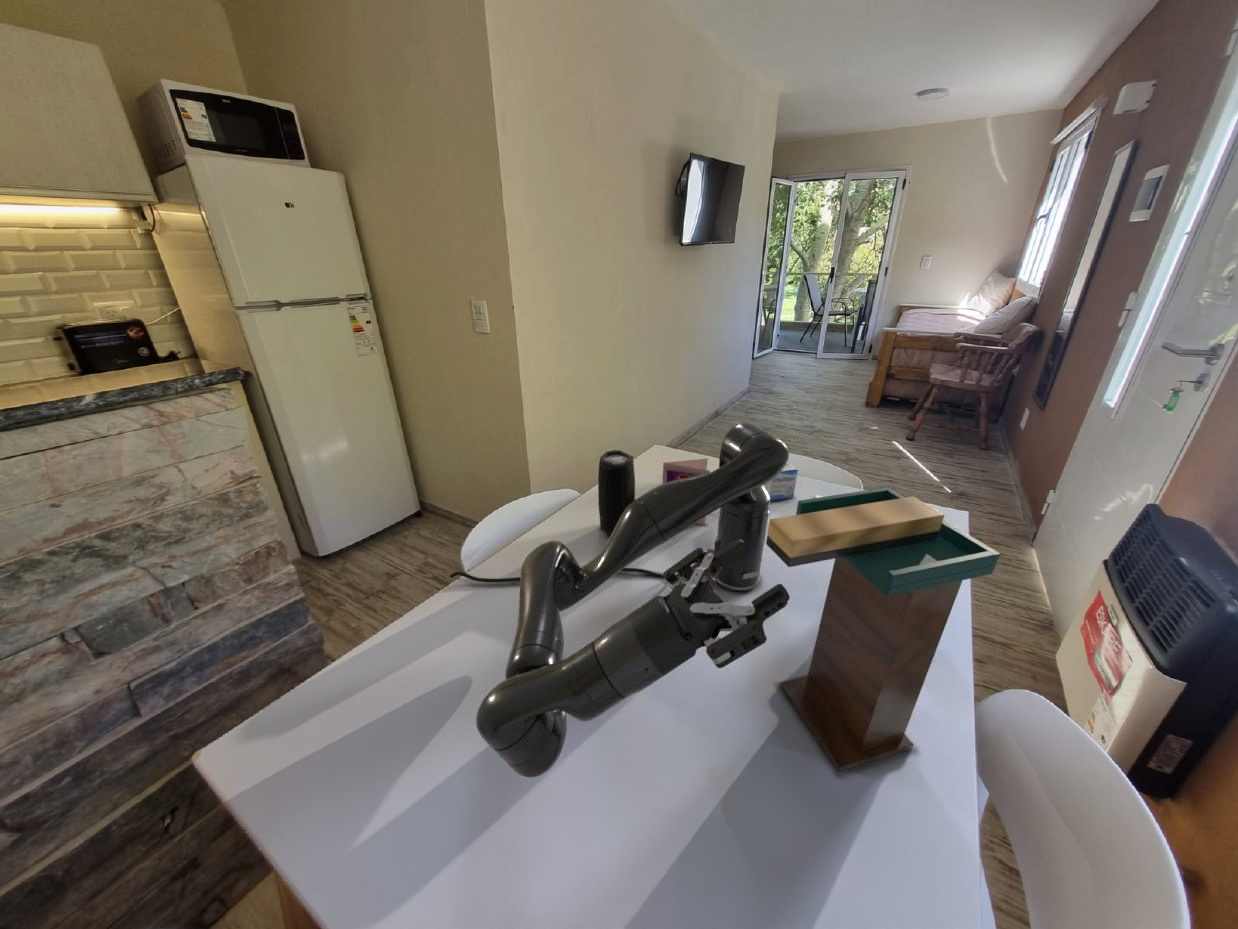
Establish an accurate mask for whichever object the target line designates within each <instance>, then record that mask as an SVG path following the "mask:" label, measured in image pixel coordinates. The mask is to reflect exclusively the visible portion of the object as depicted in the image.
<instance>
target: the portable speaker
mask: <svg viewBox="0 0 1238 929" xmlns="http://www.w3.org/2000/svg"><path fill="white" fill-rule="evenodd" d="M598 461H599V462H598V475H597V483H598V484H597V485H598V486H597V487H598V488H597V489H598V490H597V491H598V495H597V496H598V499H597V500H598V514H599V515H598V516H599V525H600V529H601V530H602V531H603V532H604V533H605V534H606V535H607V537H609V538H610V537H611V535H612V533H613V531H614V529H615V527H616V525H617V523H618V521H619V519H620V517H621V515H622V513H623V512H624V510H625V509H626V507H627V506H628V505H629V504H630V503H631V502H633V501H634V500H636V475H635V463H634V462H635V461H634V456H633V455H631V454H628V453H626V452H625V451H623V450H620V449H613V450H609V451H605V453H603V454H602V455H601V456H600V457H599V460H598Z"/></svg>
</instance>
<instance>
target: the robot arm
mask: <svg viewBox="0 0 1238 929" xmlns="http://www.w3.org/2000/svg"><path fill="white" fill-rule="evenodd" d="M789 457H790V454H789V449H788V446H787V445H786V443H784V441H782V439H780V438H778V437H777V436H776V435H774V434H772V433H770V432H769V431H767V430H765V429H764V428H761V427H760V426H758V425H756V424H753V423H751V422H741V423H738V424H736V425H734V426H732V427H731V428H730V429H729V430H728V431H727V433H726V434H725V436H724V438H723V439H722V442H721V446H720V451H719V461H718V463H719V464H718V468H716V469H715V470H712V471H710V473H707V474H704V475H701V476H696V477H691V478H685V479H680V480H675V481H671V482H667V483H664V484H663V483H661V484H659V485H657V486H655V487H653V488H651V489H650V490H648V491H647V492H644V494H642V495H641V496H639V497H637V498H635V500H634V501H633V502H631V503H630V504H629V505H628V506H627V507H626V509H625V510H624V512H623V513H622V515H621V517H620V519H619V521H618V523H617V525H616V527H615V529H614V531H613V533H612V535H611V537H609V539H608V540H607V542H606V544H605V545H604V546H603V547H602V549H601V551H599V553H598V554H596V555H595V556H594V557H593V558H592V559H591V560H590V561H588V562H587V563H586V564H584V565H583V566H581V565H580V564H579V563H578V561H577V559H576V558H575V557H574V555H573V553H572V552H571V550H570V548H568V546H567V545H565V544H564V543H563V542H561V541H559V540H549V541H547V542H544V543H542V544H540V545H538V546H536V547H535V548H534V549H533V550H532V551H530V553H528V555H526V557H525V559H524V560H523V563H522V564H521V568H520V573H519V574H520V576H519V577H518V576H517V577H502V578H501V577H500V578H486V577H477V576H474V575H471V574H469V573H466V572H464V571H454V572H453V573H451V574H450V575H449V576H448V577H449V578H450V579H451V578H454V577H457V576H461V577H464V578H466V579H468V580H471V581H474V582H478V583H510V582H519V597H518V601H519V602H518V615H517V624H516V630H515V634H514V637H513V641H512V644H511V649H510V652H509V656H508V660H507V663H506V668H505V675H504V676H505V677H504V678H505V680H503V681H501V682H499V683H498V684H497V685H495V686H494V687H493V688H492V689H491V690H490V691H489V692H488V693H487V694H486V695H485V697H484V698H483V699H482V701H481V702H480V704H479V706H478V709H477V712H476V717H475V725H476V729H477V732H478V734H479V735H480V737H481V738H482V739H483V741H484V742H486V744H487V745H489V747H490V748H492V750H493V751H495V753H496V754H497V755H498V756H499V757H500V758H501V759H502V760H503V761H504V762H505V763H506V765H508V766H509V768H511V769H512V771H514V772H515V773H517V775H520V776H521V777H524V778H529V779H531V778H537V777H540V776H542V775H544V774H545V773H547V772H548V771H549V770H550V769H551V768H553V766H554V765H555V764H556V763H557V760H558V759H559V758H560V756H561V753H562V751H563V749H564V746H565V743H566V739H567V738H566V737H567V731H568V730H567V729H568V728H567V727H568V726H567V725H568V721H567V720H568V719H567V714H568V715H569V716H571V717H573V718H575V719H577V720H578V721H580V722H589V721H592V720H595V719H596V718H598V717H599V716H601V715H603V714H605V713H606V712H608V711H610V710H611V709H612V708H614V707H615V706H616V705H618V704H620V703H621V702H622V701H624V700H625V699H627V698H629V697H631V696H632V695H634V694H636V693H638V692H641V691H643V690H645V689H647V688H648V687H649V686H651V685H652V684H654V683H656V682H657V681H659V680H660V679H661V678H664V677H665V676H667V675H668V674H669V673H671V672H672V671H673V670H675V669H677V668H678V667H680V666H682V665H683V664H685V663H686V662H687V661H689V660H691V659H692V658H694V656H696V655H697V654H696V653H697V651H698V650H699V649H700V648H704V647H706V649H705V653H706V654H707V656H708V657H709V659H710V660H711V662H712V663H713V664H714V666H715V667H716V668H718V669H723V668H725V667H726V666H728V665H730V664H731V663H733V662H735V661H736V660H738V659H739V658H742V657H744V656H745V655H747V654H749V653H751V652H752V651H754V650H755V649H757V648H758V647H760V646H762V645H764V644H765V643H766V642H767V640H768V639H767V636H766V634H765V630H764V622H765V621H766V620H768V619H769V618H771V617H772V616H774V615H775V614H776V613H778V612H780V611H781V610H783V609H784V608H786V606H787V605H788V603H789V602H788V601H789V600H790V598H791V597H790V594H789V592H788V590H787V588H786V587H785V586H784V585H783V584H782V583H778V584H776V585H774V586H773V587H771V588H770V589H768V590H767V591H765V592H764V593H762V594H761V595H759V596H758V597H756V598H755V599H753V600H752V601H751V604H742V605H741V604H739V605H737V604H736V605H735V604H732V603H731V602H724V601H723V599H722V598H721V596H720V595H719V594H718V593H717V592H716V587H717V584H718V586H721V587H722V588H724V589H726V590H729V591H734V592H748V591H752V590H753V589H755V588H756V587H757V586H758V585H759V582H760V573H761V572H760V571H761V567H762V560H763V554H764V546H765V539H766V532H767V527H768V520H769V515H770V508H771V501H770V495H769V493H768V491H767V489H766V487H765V486H764V485H765V484H766V483H768V482H770V481H771V480H773V479H774V478H775V477H776V476H778V475H779V474H780V473H781V472H782V470H783V469H784V467H785V466H786V464H788V461H789ZM717 510H719V516H718V527H717V534H716V538H715V540H714V547H713V549H712V548H707V549H706V551H705V550H704V549H703V548H702V547H696V548H695V549H694V550H692V551H691V552H690V553H688V554H687V555H686V556H684V557H682V558H681V559H680V560H678V561H677V562H676V563H675V564H673V565H671V566H670V567H669V568H667V569H666V570H665V571H663V573H659V572H654V571H651V570H647V569H644V568H637V567H636V568H635V567H628V566H629V565H631V564H632V563H634V562H635V561H638V559H640V558H642V557H643V556H645V555H647V554H648V553H649V552H651V551H653V550H654V549H656V548H658V547H660V546H662V545H663V544H665V543H667V542H668V541H670V540H671V539H673V538H674V537H676V536H677V535H679V534H680V533H682V532H684V531H685V530H686V529H688V528H690V527H691V526H692V525H694V524H696V523H695V522H697V521H699V520H700V519H702V518H704V517H705V516H706V517H707V516H709V515H710V514H712V513H713V512H716V511H717ZM619 572H629V573H630V572H632V573H640V574H646V575H649V576H653V577H657V578H662V579H664V581H665V582H666V584H667V585H668V587H670V589H671V591H670V592H669V593H668V594H667V595H665V596H662V595H656V596H654V597H653V598H651V599H650V600H648V601H647V602H645V603H644V604H642V605H641V606H639V607H637V609H634V610H633V611H632V612H630V613H629V614H627V615H626V616H624V617H623V618H621V619H620V620H618V621H617V622H615V623H614V624H612V625H611V626H609V627H608V628H607V629H606V630H604V631H603V632H602V633H601V634H600V635H599V636H597V638H595V639H594V640H592V641H591V642H589V643H587V644H586V645H585V646H583V647H582V648H580V649H579V650H577V651H576V652H574V653H573V654H571V655H570V656H568V657H567V658H565V659H563V657H564V649H565V637H564V636H565V635H564V628H563V622H562V618H561V614H560V613H562V612H564V611H566V610H568V609H570V608H572V607H574V606H575V605H576V604H578V603H579V602H581V601H583V599H585V598H586V597H588V596H589V595H590V594H592V593H593V592H594V591H596V590H597V589H598V588H599V587H601V586H602V585H603V584H604V583H606V582H607V581H609V580H610V579H611V578H613V577H614V576H615V575H616V574H618V573H619ZM720 632H729V633H728V634H726V635H724V636H723V637H721V636H720V637H719V635H720Z"/></svg>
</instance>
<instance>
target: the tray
mask: <svg viewBox="0 0 1238 929" xmlns="http://www.w3.org/2000/svg"><path fill="white" fill-rule="evenodd" d="M900 498H906V496H903V495H902V494H900V493H898V492H897V491H895V490H893V489H891V488H890V487H888V486H886V487H880V488H872V489H866V490H859V491H854V492H853V491H852V492H846V493H840V494H833V495H828V496H822V497H819V498H814V497H813V498H807V499H801V500H800V499H799V500H798V502H797V508H796V514H795V515H800V514H806V513H812V512H818V511H825V510H831V509H837V508H843V507H850V506H856V505H862V504H868V503H875V502H881V501H887V500H893V499H900ZM1000 556H1001V553H1000V552H998V551H996V549H993V548H992V547H990V546H988V545H987V544H985V543H983V542H982V541H979V540H978V539H976V538H975V537H973V536H971V535H970V534H968V533H966V532H965V531H963V530H961V529H959V528H958V527H956V526H954V525H953V524H951V523H949V522H948V521H946V520H944V519H943V522H942V525H941V528H940V530H939V534H938V537H937V539H935V540H930V541H925V542H919V543H914V544H909V545H903V546H898V547H893V548H888V549H882V550H877V551H872V552H867V553H861V554H856V555H851V556H845V557H841V558H843V559H844V560H845V561H846V562H847V563H848V564H850V565H851V566H852V567H853V568H854V569H855V570H857V571H858V572H859V573H860V574H861V575H862V576H864V577H865V578H866V579H867V580H868V581H869V582H871V583H872V584H873V585H874V586H875V587H877V588H878V589H879V590H880V591H881V592H882V593H884V594H885V595H886V596H887V597H888V596H893V595H898V594H902V593H907V592H911V591H916V590H920V589H925V588H929V587H934V586H939V585H943V584H948V583H952V582H957V581H961V580H963V581H965V580H969V579H975V578H979V577H980V578H981V577H984V576H989V575H993V573H994V570H995V568H996V565H997V563H998V561H999V558H1000Z"/></svg>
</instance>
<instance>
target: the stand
mask: <svg viewBox="0 0 1238 929" xmlns="http://www.w3.org/2000/svg"><path fill="white" fill-rule="evenodd" d="M963 581H964V580H961V581H957V582H952V583H948V584H943V585H939V586H934V587H929V588H925V589H920V590H916V591H911V592H907V593H902V594H898V595H893V596H888V597H887V596H886V595H885V594H884V593H882V592H881V591H880V590H879V589H878V588H877V587H875V586H874V585H873V584H872V583H871V582H869V581H868V580H867V579H866V578H865V577H864V576H862V575H861V574H860V573H859V572H858V571H857V570H855V569H854V568H853V567H852V566H851V565H850V564H848V563H847V562H846V561H845V560H844V559H843V558H841V557H840V558H835V559H834V562H833V566H832V570H831V575H830V579H829V582H828V586H827V587H828V588H827V592H826V596H825V600H824V606H823V609H822V612H821V617H820V622H819V626H818V630H817V634H816V639H815V642H814V648H813V651H812V656H811V661H810V665H809V668H808V673H807V675H804V676H800V677H796V678H793V679H788V680H784V681H781V682H780V683H779V688H780V689H781V691H782V692H783V694H784V695H785V697H786V698H787V700H788V701H789V703H790V704H791V705H792V707H793V708H794V709H795V711H796V712H797V714H798V715H799V717H800V718H801V720H802V721H803V723H804V724H805V725H806V727H807V728H808V730H809V732H810V733H811V734H812V736H813V737H814V738H815V740H816V742H817V743H818V744H819V746H820V748H821V749H822V750H823V752H824V753H825V755H827V757H828V759H829V760H830V762H831V764H832V765H833V766H834V767H835V769H836V770H837V772H838V773H840V772H844V771H847V770H850V769H854V768H856V767H859V766H863V765H866V764H870V763H872V762H875V761H878V760H880V759H885V758H887V757H891V756H894V755H897V754H901V753H904V752H906V751H910V750H912V749H913V747H914V746H915V745H914V743H913V741H912V740H911V739H910V738H909V737H908V736H907V734H906V731H907V728H908V726H909V723H910V721H911V717H912V716H913V712H914V710H915V707H916V705H917V701H918V699H919V697H920V694H921V691H922V688H923V686H924V684H925V680H926V679H927V675H928V673H929V670H930V668H931V665H932V663H933V659H934V658H935V657H934V656H935V654H936V651H937V649H938V647H939V643H940V641H941V638H942V636H943V633H944V630H945V628H946V625H947V622H948V620H949V617H950V615H951V612H952V609H953V607H954V604H955V601H956V599H957V596H958V594H959V591H960V589H961V586H962V583H963Z"/></svg>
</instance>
